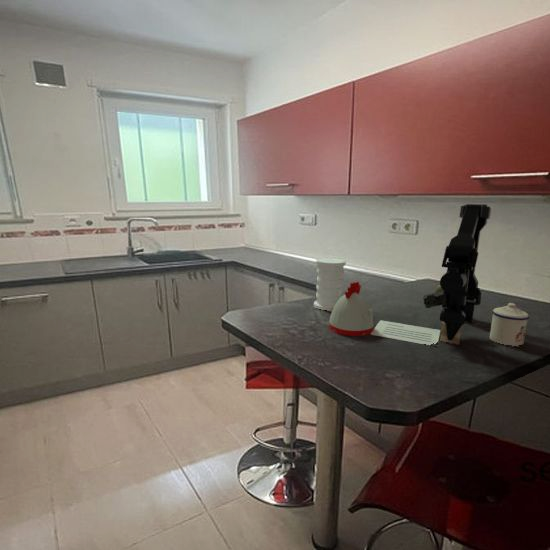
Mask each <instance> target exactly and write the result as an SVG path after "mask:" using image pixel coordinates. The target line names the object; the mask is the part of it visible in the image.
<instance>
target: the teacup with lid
mask: <svg viewBox="0 0 550 550" xmlns="http://www.w3.org/2000/svg"><path fill="white" fill-rule="evenodd" d="M529 318H530V316H529V314H528V313H527V312H526V311H524V310H521V309H520V308H518V307H517V305H516V304H515V303H513V302H508V303H507V305H504V306H501V307H495V308H494V309H493V310H492V320H491V326H490V332H489V339H490V340H491V341H492V342H494V343H496V342H497V343H496V344H498V343H500V344H499V345H501V344H504V345H503V346H506V345H512V346H511V347H514V346H516V347H520V346H519V345H522V344H523V345H524V342H525V336H526V330H527V325H528V320H529ZM523 345H522V346H523Z"/></svg>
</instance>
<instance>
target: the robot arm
mask: <svg viewBox="0 0 550 550" xmlns="http://www.w3.org/2000/svg"><path fill="white" fill-rule="evenodd" d="M491 213H492V207H491V206H488V204H481V203H480V204H479V203H466V204H464V205H461V206H460V212H459V218H460V219H461V222H460V224H459V227H458V228H459V229H458V231H457V234H456V235H455V236H454V237H452V238H451V239H450V240H449V243H448V245H446V247H445V251H444V254H443V259H442V261H441V262H442V263H441V268H447V269H446V272H445V273H444V274H443V275H442V276H441V277H440V279H439V285H440V286H441V288H442V289H443V290H444V292H438V293H434V292H433V293H429V294H425V295H423V298H422V299H423V304H424V307H425V309H431V308H432V307H439V306H441V308H442V310H441V311H440V315H439V321H441V322H442V323H443V322H444V323H445V324H446V330H447V338H448V340H450V341H452V339H453V338H454V336H455V335H456V333H457V332H458V330H459V329H460V327H461V328H462V326H463V325H465V324H466V322H467V323H473V322H474V311H475V306H480V305H481V301H482V291H481V288H480V287H479V281H478V277H476V274H475V271H476V266H477V261H478V257H479V251H478V250H479V244H480V243H479V242H480V236H481V231H482V230H483V229H484V228H485V226H486V225H487V224H488V220H490V218H491Z"/></svg>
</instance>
